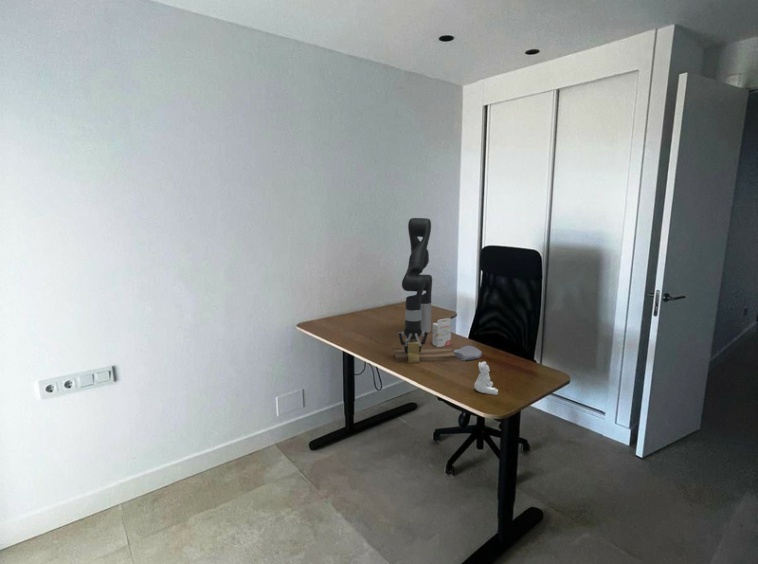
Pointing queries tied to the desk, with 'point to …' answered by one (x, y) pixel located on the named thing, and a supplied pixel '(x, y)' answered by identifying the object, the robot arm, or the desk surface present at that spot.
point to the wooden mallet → (413, 351)
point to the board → (428, 355)
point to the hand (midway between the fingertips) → (412, 352)
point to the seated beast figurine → (484, 380)
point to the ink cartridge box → (442, 333)
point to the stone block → (468, 353)
